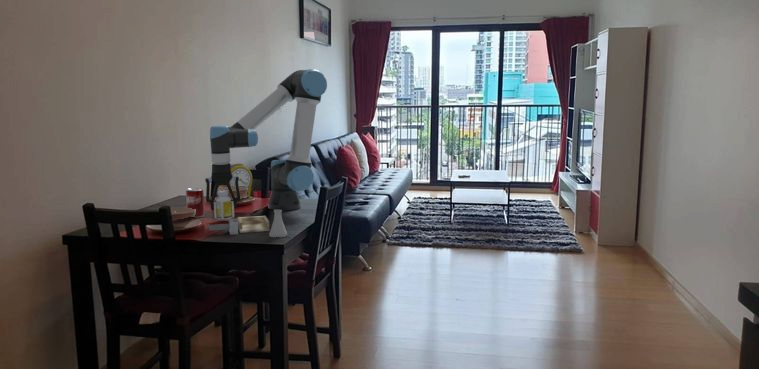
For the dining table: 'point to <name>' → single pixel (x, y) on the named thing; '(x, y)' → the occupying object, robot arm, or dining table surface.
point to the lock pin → (217, 227)
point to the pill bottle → (223, 205)
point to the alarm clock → (241, 176)
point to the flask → (278, 226)
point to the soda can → (196, 201)
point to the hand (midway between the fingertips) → (224, 217)
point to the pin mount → (233, 226)
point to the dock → (253, 224)
